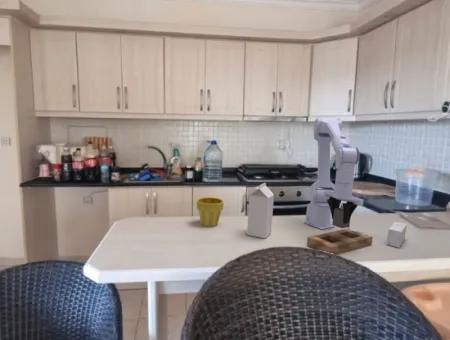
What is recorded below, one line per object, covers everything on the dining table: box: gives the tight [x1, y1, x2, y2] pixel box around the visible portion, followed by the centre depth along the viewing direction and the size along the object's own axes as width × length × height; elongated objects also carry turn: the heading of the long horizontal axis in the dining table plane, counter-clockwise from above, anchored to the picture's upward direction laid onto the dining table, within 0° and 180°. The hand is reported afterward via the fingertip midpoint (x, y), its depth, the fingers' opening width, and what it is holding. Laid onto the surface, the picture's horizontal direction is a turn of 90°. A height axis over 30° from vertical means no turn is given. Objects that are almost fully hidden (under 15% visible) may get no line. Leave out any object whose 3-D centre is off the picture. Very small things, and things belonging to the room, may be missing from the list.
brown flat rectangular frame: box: [306, 227, 374, 256], centre depth 111 cm, size 10×22×3 cm, turn 123°
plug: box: [331, 205, 352, 229], centre depth 111 cm, size 4×4×7 cm
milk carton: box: [246, 182, 275, 239], centre depth 117 cm, size 7×7×19 cm
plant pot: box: [196, 196, 224, 228], centre depth 126 cm, size 10×10×10 cm
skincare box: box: [386, 221, 407, 248], centre depth 117 cm, size 6×4×12 cm
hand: (340, 221), depth 110 cm, fingers closed on plug, 4 cm apart
